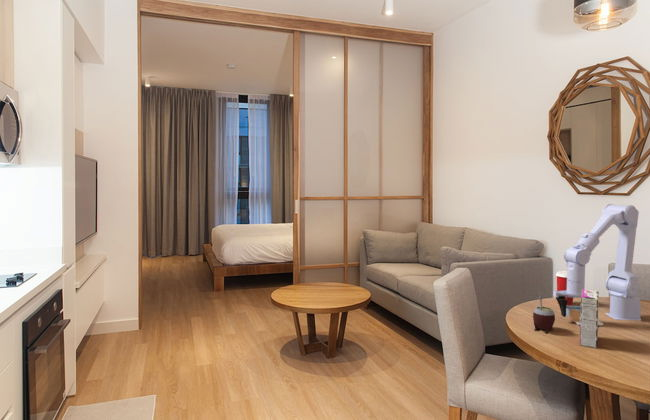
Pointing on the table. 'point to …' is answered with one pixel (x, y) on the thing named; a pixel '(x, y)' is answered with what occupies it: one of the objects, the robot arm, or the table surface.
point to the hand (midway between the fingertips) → (574, 316)
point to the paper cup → (563, 285)
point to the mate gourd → (543, 317)
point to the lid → (577, 317)
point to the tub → (572, 308)
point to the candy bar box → (589, 318)
